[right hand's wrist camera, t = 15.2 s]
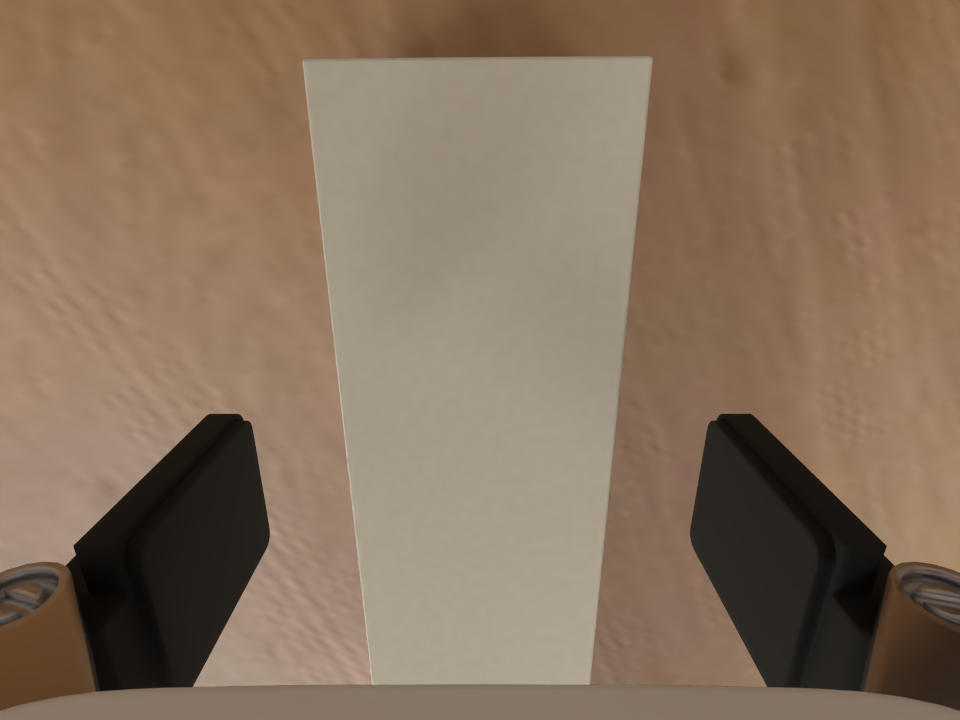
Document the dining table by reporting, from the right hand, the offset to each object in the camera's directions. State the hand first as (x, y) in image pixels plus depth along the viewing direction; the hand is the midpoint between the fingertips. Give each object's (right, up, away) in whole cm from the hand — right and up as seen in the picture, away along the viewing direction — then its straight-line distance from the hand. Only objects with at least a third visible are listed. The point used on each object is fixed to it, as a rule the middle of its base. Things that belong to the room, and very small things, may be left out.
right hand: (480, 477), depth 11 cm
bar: (0, -24, +18) cm, 30 cm away
